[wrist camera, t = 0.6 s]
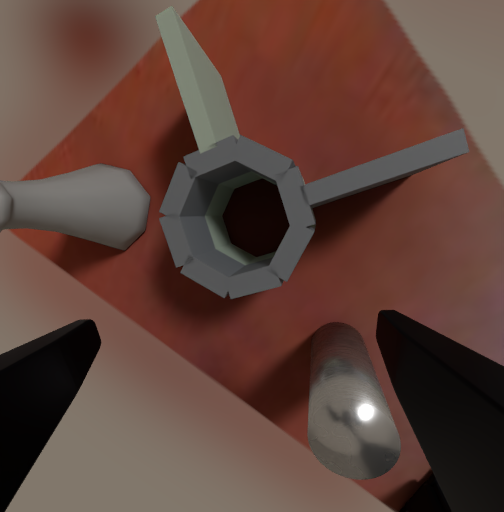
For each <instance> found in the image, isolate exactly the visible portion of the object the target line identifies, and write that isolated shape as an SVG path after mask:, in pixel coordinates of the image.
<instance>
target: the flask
mask: <svg viewBox="0 0 504 512" xmlns="http://www.w3.org/2000/svg"><path fill="white" fill-rule="evenodd" d="M149 204H150V196H149V194H148V193H147V192H146V191H145V189H144V188H143V187H142V185H141V184H140V183H139V182H138V180H137V179H136V178H135V177H134V175H133V174H132V173H131V171H130V170H126V169H122V168H118V167H114V166H110V165H106V164H102V163H100V164H96V165H93V166H89V167H86V168H83V169H80V170H76V171H73V172H70V173H66V174H62V175H58V176H54V177H50V178H46V179H42V180H29V181H15V182H11V181H0V232H1V231H2V230H3V229H18V228H29V229H38V230H47V231H55V232H60V233H63V234H67V235H71V236H75V237H79V238H83V239H86V240H90V241H94V242H97V243H100V244H103V245H107V246H110V247H113V248H117V249H121V250H124V251H125V250H126V249H127V248H128V247H129V246H130V245H131V244H132V243H133V242H134V241H135V240H136V239H137V238H138V237H139V236H140V235H141V234H142V233H143V232H144V231H145V230H146V223H147V217H148V210H149Z"/></svg>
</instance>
